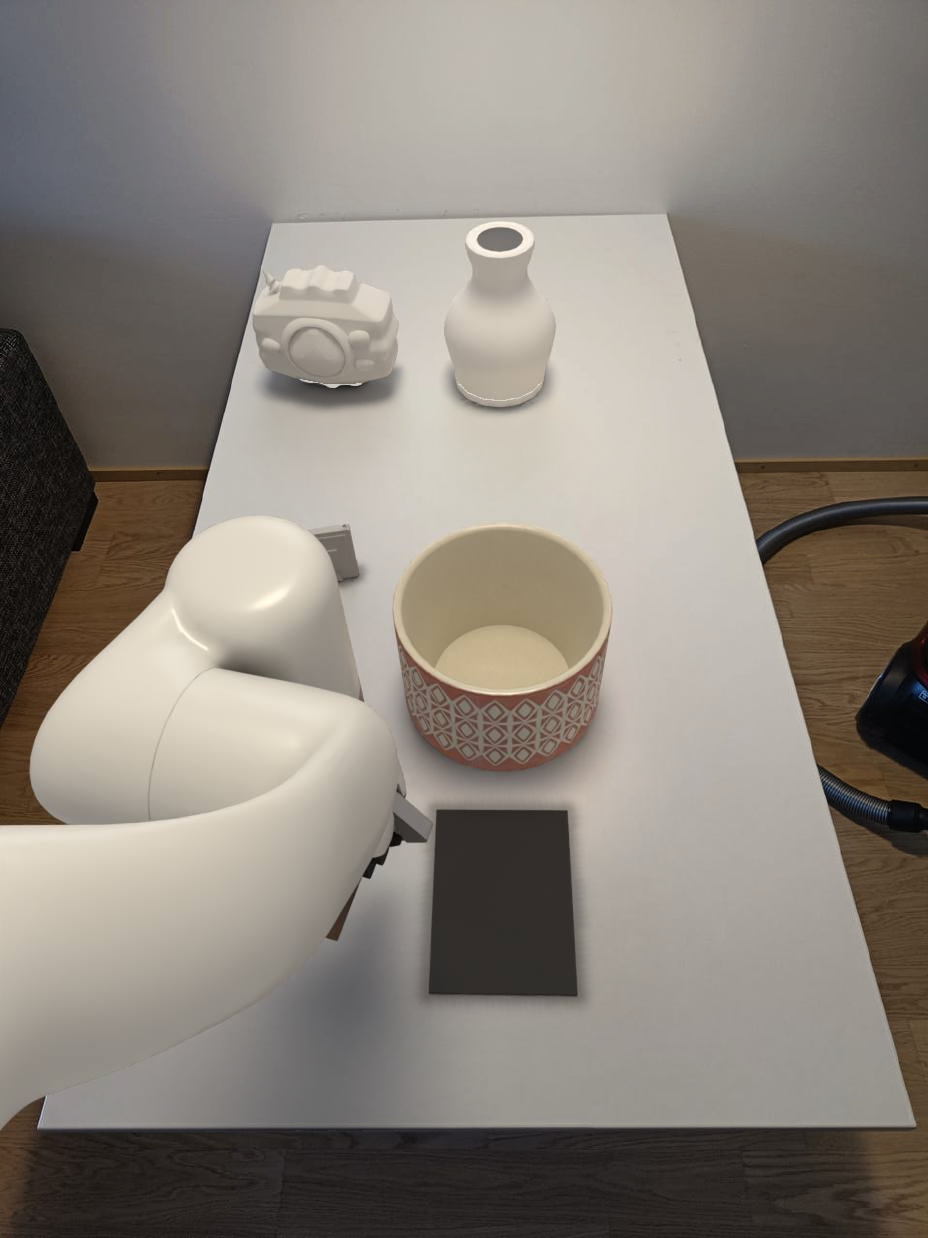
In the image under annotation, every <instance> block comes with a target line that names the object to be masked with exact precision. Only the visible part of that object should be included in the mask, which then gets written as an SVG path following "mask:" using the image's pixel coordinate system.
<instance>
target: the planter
mask: <svg viewBox="0 0 928 1238" xmlns="http://www.w3.org/2000/svg"><path fill="white" fill-rule="evenodd" d="M392 601H393V602H392V619H393V627H394V631H395V632H394V633H395V639H396V647H397V652H398V658H399V665H400V671H401V678H402V684H403V691H404V697H405V703H406V705H407V709H408V712H409V716H410V718H411V720H412V722H413V723H414V726H415V728H416V729H417V730H418V731H419V733H420V734H421V735H422V737H423V738H424V740H426V742H428V743H429V744H430V745H431V746H432V747H433V748H434V749H435V750H437V751H438V752H439V753H440V754H442V755H444V756H445V757H447V758H449V759H450V760H453V761H455V762H457V763H460V764H462V765H464V766H468V767H471V768H474V769H477V770H478V769H479V770H483V771H484V770H485V771H492V772H514V771H521V770H527V769H531V768H534V767H538V766H541V765H543V764H545V763H548V762H550V761H552V760H555V759H556V758H558V757H559V756H561V755H562V754H564V753H565V752H567V751H569V749H570V748H572V747H573V746H574V745H575V744H576V743H577V742H578V741H579V740H580V739H581V738H582V736H583V735H584V734H585V732H587V730H588V728H589V726H590V724H591V723H592V721H593V719H594V716H595V714H596V710H597V707H598V704H599V699H600V692H601V686H602V680H603V674H604V668H605V662H606V657H607V651H608V646H609V645H608V644H609V638H610V634H611V627H612V621H613V620H612V619H613V602H612V595H611V591H610V588H609V585H608V581H607V580H606V578H605V576H604V574H603V572H602V570H601V569H600V567H599V566H598V565H597V563H595V561H594V560H593V558H592V557H591V556H590V555H589V554H588V553H586V552H585V551H584V550H583V549H582V548H581V547H580V546H579V545H577V544H575V543H574V542H572V541H571V540H570V539H568V538H566V537H563V535H560V534H558V533H556V532H554V531H551V530H548V529H545V528H542V527H539V526H535V525H531V524H526V523H525V524H524V523H518V522H488V523H480V524H475V525H469V526H466V527H461V528H459V529H457V530H454V531H451V532H448V533H447V534H445V535H442V536H440V537H439V538H437V539H435V540H434V541H432V542H431V543H430V544H428V545H426V546H425V547H424V548H422V549H421V550H420V552H418V553H417V555H415V556H414V557H413V558H412V559H411V560H410V562H409V563H408V565H407V566H406V567H405V569H404V570H403V572H402V574H401V576H400V578H399V580H398V581H397V583H396V588H395V591H394V594H393V599H392Z"/></svg>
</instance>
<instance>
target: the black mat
mask: <svg viewBox="0 0 928 1238" xmlns="http://www.w3.org/2000/svg"><path fill="white" fill-rule="evenodd" d="M435 812H436V815H435V835H434V839H435V840H434V862H433V883H432V884H433V885H432V887H433V888H432V906H431V907H432V908H431V909H432V910H431V928H430V929H431V931H430V934H431V935H430V954H429V955H430V957H429V976H428V977H429V979H428V984H429V985H428V994H434V995H436V994H437V995H439V994H440V995H441V994H442V995H443V994H444V995H513V996H514V995H515V996H519V995H520V996H578V980H577V979H578V977H577V961H576V942H575V926H574V925H575V922H574V921H575V920H574V905H573V902H574V901H573V886H572V867H571V866H572V865H571V847H570V833H569V832H570V831H569V830H570V829H569V813H568V810H567V809H436V810H435Z"/></svg>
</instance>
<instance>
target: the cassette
mask: <svg viewBox="0 0 928 1238" xmlns="http://www.w3.org/2000/svg"><path fill="white" fill-rule="evenodd" d="M307 530H308V531H309V532H310V533H312V534H313V535H314V536H315V537H316V538H317V539H318V540H319V541H320V543H321V544H322V545H323V546H324V548H325V549H326V551H327V553H328V555H329V556H330V559H331V561H332V564H333V567H334V570H335V574H336V577H337V582H338V583H339V582H343V581H344V579H349V578H355V577H358V576H359V573H360V569H359V565H358V563H359V562H358V560H357V557H356V552H355V551H356V550H355V546H354V541H353V535H352V531H351V526H350V525H349V523H343V524H338V525H330V526H323V527H316V528H310V529H307Z"/></svg>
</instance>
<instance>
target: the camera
mask: <svg viewBox="0 0 928 1238" xmlns="http://www.w3.org/2000/svg"><path fill="white" fill-rule="evenodd" d="M261 271H262V274H263V275H264V278H265V284H266V285H267V286H266V287H264V288H263V289H262V291H261V292H260V294H259V296H258V297H257V299H256V302H255V305H254V306H253V309H252V329H253V331H254V333H255V341H256V345H257V347H258V356H259V358H260V360H261V362H262V364H263V365H264V368H265V369H267V370H268V371H271V372H273V373H276V374H277V373H278V374H281V375H284V376H287V377H291V378H294V379H296V378H298V379H303V380H308V381H313V382H318V383H323V384H356V383H364V384H365V383H367V382H370V381H376V380H380V379H383V378H386V377H388V376H389V375H390V374H391V373H392V371H393V369H394V366H395V364H396V363H395V362H396V360H397V356H398V351H399V344H398V338H397V336H398V331H399V327H400V324H399V318H398V317H397V315H396V314H395V313H394V310H393V299H392V295H391V294H390V293H389V292H388V291H385V290H383V289H380V288H378V287H375V286H372V285H369V284H366V283H363V282H360V281H359V280H358V278H357V276H356V275H355V273H354V272H352V271H348V270H342V271H334V270H331V269H330V268H329V267H327V266H325V265H317V266H315V267H314V268H312V269H309V270H306V269H301V268H298V267H297V268H290V269H288V270H287V271H286V273H285V274H284V276H283V279H282V280H280V281H276V277H275V276H273V275H272V274H270V273H268V272H267V270H265V269H264V268H262V270H261ZM298 379H297V380H298Z"/></svg>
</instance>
